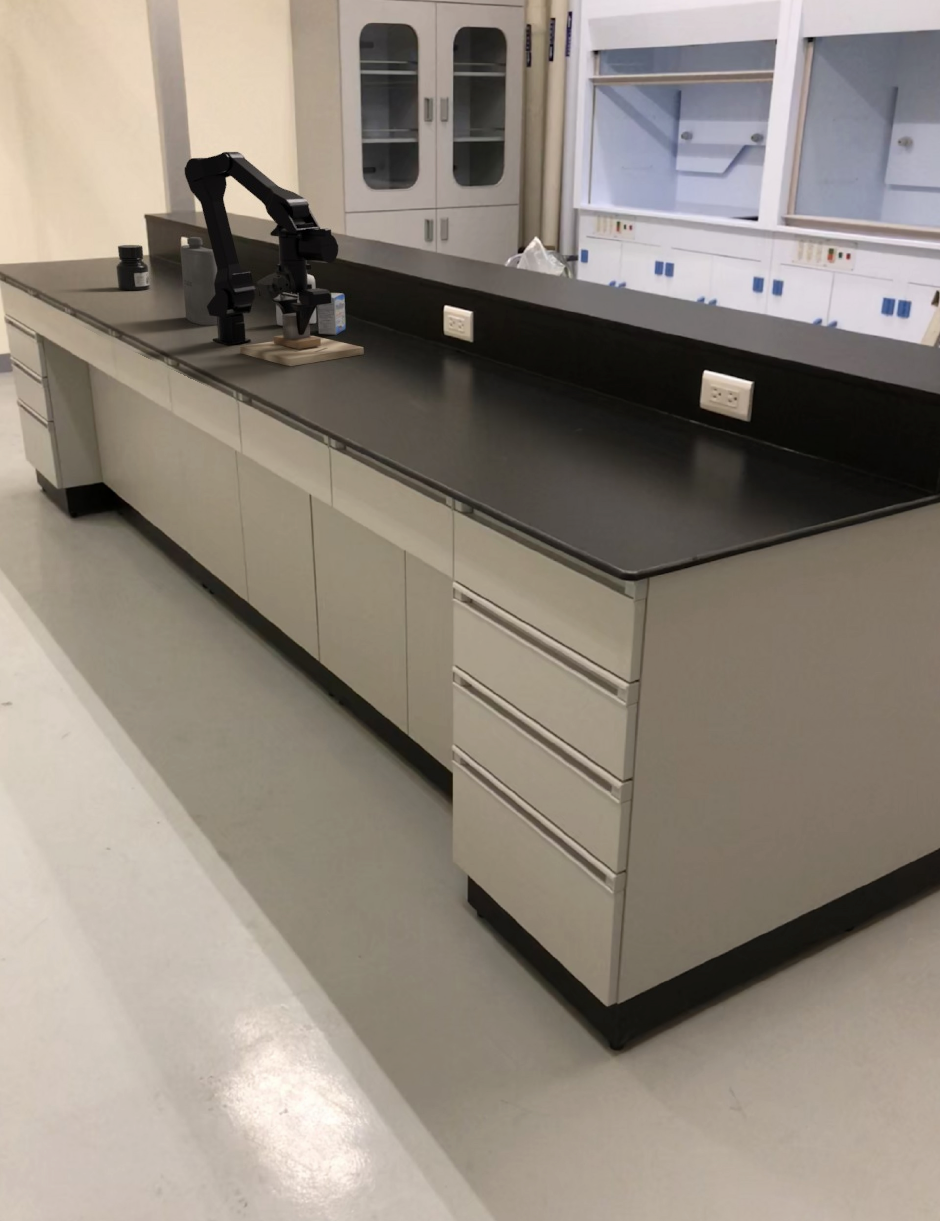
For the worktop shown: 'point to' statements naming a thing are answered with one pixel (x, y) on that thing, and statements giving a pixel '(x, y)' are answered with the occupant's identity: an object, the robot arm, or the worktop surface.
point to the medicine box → (332, 315)
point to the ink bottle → (132, 268)
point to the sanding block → (295, 334)
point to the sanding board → (301, 352)
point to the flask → (198, 281)
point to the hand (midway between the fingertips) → (296, 333)
